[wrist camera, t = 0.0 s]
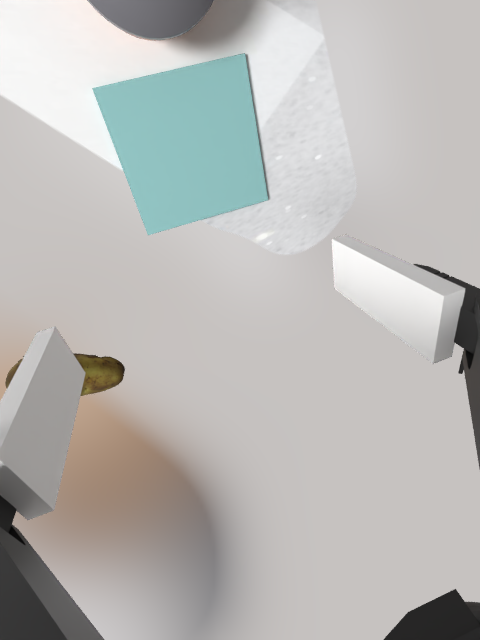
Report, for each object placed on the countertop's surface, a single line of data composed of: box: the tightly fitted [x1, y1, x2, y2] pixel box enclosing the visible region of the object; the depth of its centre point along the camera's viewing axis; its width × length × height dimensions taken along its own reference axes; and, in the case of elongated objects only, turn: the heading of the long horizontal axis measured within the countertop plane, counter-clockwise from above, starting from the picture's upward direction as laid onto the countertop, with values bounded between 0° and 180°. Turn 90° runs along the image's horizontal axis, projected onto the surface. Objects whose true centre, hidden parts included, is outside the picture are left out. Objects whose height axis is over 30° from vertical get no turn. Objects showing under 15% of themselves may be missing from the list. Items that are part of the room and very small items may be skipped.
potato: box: [6, 354, 125, 396], centre depth 42 cm, size 8×13×8 cm, turn 52°
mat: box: [92, 53, 268, 235], centre depth 36 cm, size 15×16×1 cm
